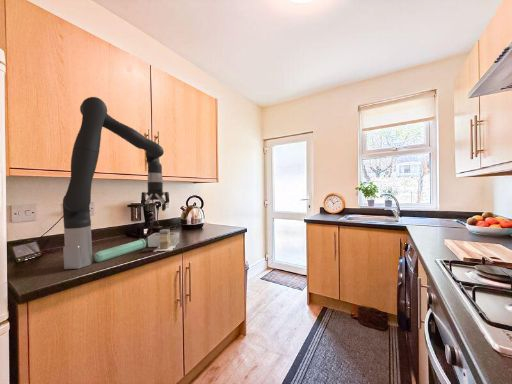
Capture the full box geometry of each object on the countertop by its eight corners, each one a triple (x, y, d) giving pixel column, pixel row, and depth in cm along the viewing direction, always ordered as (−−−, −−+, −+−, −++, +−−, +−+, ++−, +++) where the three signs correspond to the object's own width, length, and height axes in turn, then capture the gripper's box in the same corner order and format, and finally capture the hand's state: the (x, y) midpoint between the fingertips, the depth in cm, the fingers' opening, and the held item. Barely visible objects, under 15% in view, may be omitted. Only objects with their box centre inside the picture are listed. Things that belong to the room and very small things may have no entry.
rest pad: (170, 251, 116) (170, 250, 116) (153, 252, 115) (153, 250, 115) (175, 246, 125) (175, 245, 125) (159, 247, 124) (159, 246, 124)
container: (97, 250, 100) (144, 237, 123) (90, 253, 102) (137, 240, 125) (101, 262, 99) (147, 247, 122) (93, 265, 101) (140, 250, 124)
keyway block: (174, 246, 126) (174, 235, 126) (148, 247, 125) (147, 236, 125) (179, 241, 136) (179, 232, 136) (154, 242, 135) (154, 233, 135)
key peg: (167, 248, 119) (167, 230, 118) (160, 249, 118) (159, 230, 118) (170, 246, 123) (169, 229, 122) (162, 247, 122) (162, 229, 122)
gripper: (138, 181, 116) (139, 211, 116) (165, 181, 117) (166, 211, 117) (144, 181, 124) (145, 210, 124) (170, 181, 124) (171, 210, 125)
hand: (155, 210), depth 121 cm, fingers open, 8 cm apart
